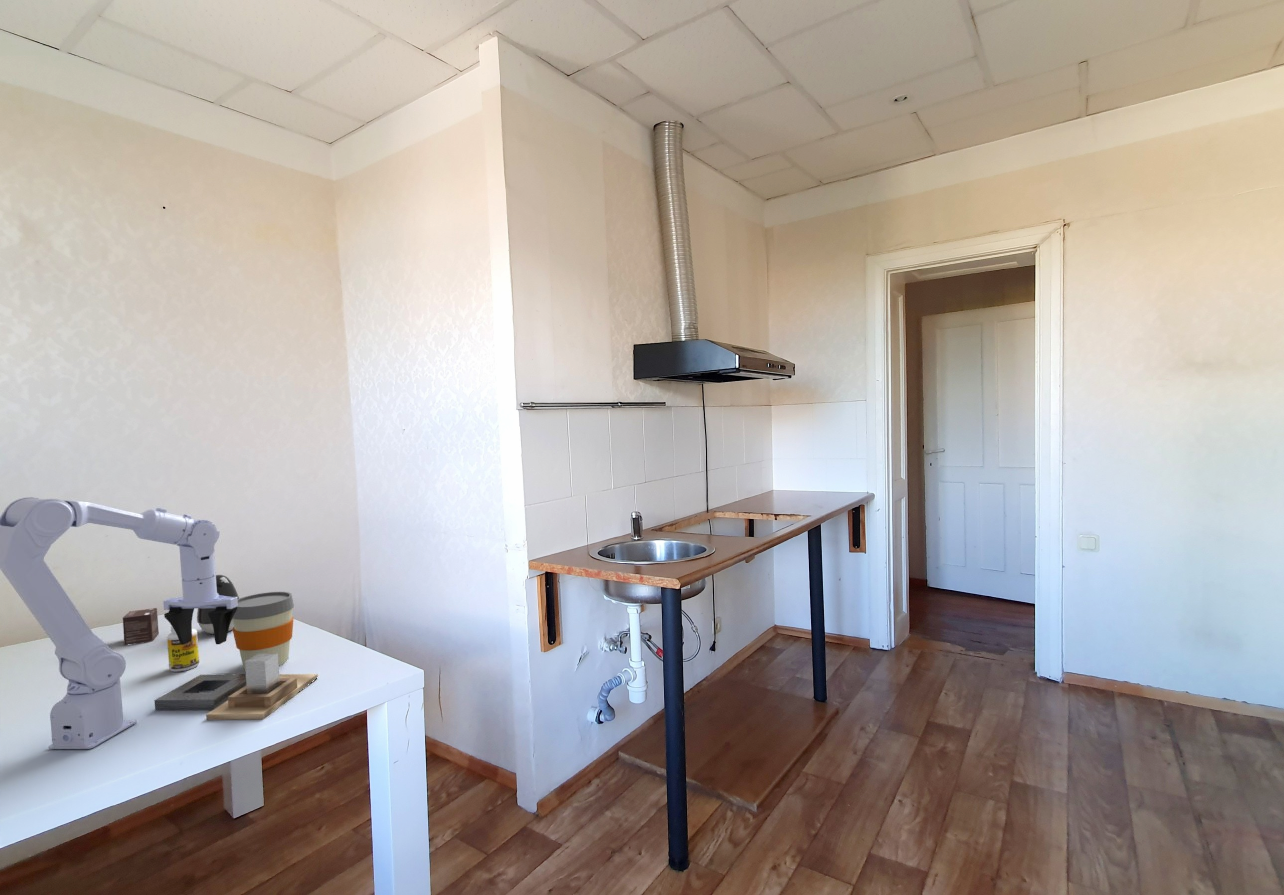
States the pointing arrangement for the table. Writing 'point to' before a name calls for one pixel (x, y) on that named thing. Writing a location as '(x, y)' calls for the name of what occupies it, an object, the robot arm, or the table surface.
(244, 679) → the socket
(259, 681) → the brushed metal block
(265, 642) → the reusable coffee cup
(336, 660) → the table surface
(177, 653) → the supplement bottle
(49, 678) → the table surface
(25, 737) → the table surface
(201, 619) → the dark grey tall dome
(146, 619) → the box
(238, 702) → the rack board
